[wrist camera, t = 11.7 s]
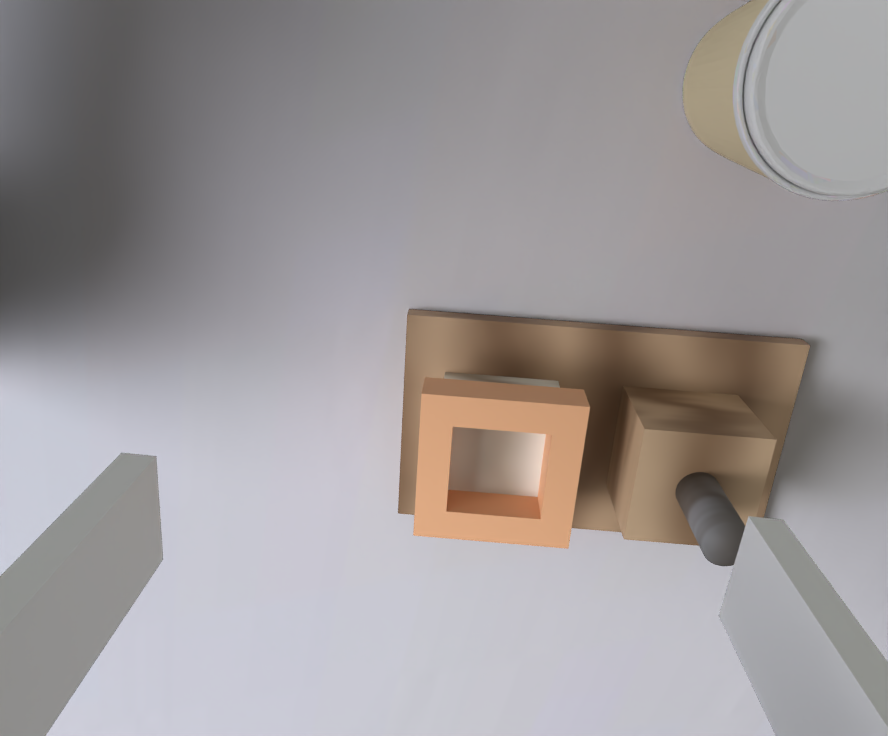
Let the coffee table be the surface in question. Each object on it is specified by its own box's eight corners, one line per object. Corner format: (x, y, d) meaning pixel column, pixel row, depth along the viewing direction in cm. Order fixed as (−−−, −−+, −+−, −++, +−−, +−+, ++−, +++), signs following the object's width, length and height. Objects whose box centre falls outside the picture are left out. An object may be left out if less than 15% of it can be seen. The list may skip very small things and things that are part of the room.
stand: (400, 503, 48) (374, 629, 36) (409, 309, 43) (382, 384, 31) (750, 533, 47) (834, 669, 36) (801, 339, 42) (919, 427, 31)
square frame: (417, 512, 42) (413, 535, 40) (424, 376, 39) (421, 393, 37) (563, 524, 42) (568, 548, 40) (583, 389, 39) (590, 407, 37)
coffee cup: (819, 179, 39) (956, 211, 28) (652, 168, 39) (720, 195, 28) (866, -9, 35) (1043, -59, 24) (682, -19, 36) (774, -74, 24)
